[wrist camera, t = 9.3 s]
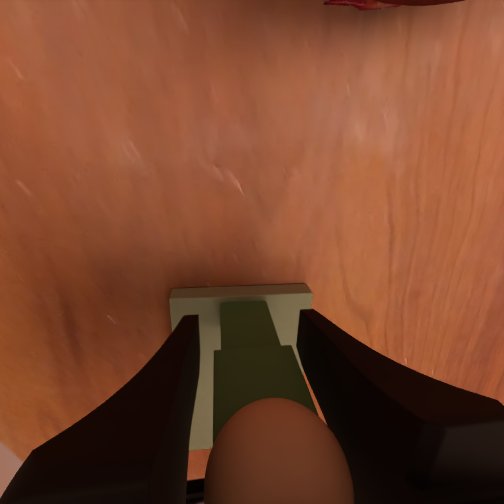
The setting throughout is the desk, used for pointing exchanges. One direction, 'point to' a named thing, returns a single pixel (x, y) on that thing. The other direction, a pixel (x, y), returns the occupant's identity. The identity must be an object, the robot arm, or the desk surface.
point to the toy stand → (208, 307)
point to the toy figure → (267, 422)
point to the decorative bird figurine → (386, 3)
